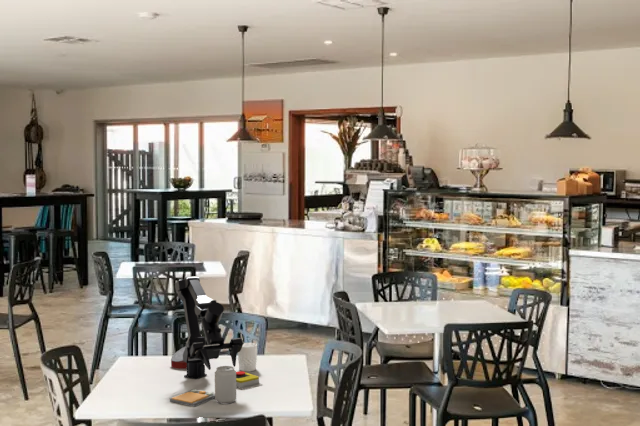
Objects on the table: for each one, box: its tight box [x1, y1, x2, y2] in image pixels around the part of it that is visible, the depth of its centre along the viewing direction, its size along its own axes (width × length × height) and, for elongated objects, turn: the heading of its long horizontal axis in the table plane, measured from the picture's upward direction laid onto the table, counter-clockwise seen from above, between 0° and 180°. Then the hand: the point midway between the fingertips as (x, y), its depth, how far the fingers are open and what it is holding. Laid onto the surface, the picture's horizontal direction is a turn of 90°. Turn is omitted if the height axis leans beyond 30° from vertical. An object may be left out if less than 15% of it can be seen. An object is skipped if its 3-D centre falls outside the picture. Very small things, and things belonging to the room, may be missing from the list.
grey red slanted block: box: [170, 346, 187, 370], centre depth 337 cm, size 11×10×10 cm
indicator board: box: [169, 389, 215, 407], centre depth 291 cm, size 11×13×2 cm
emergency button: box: [236, 370, 264, 390], centre depth 311 cm, size 9×4×15 cm
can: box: [214, 365, 237, 405], centre depth 288 cm, size 8×8×12 cm
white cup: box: [237, 342, 258, 372], centre depth 331 cm, size 8×8×10 cm
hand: (222, 367), depth 291 cm, fingers open, 9 cm apart
